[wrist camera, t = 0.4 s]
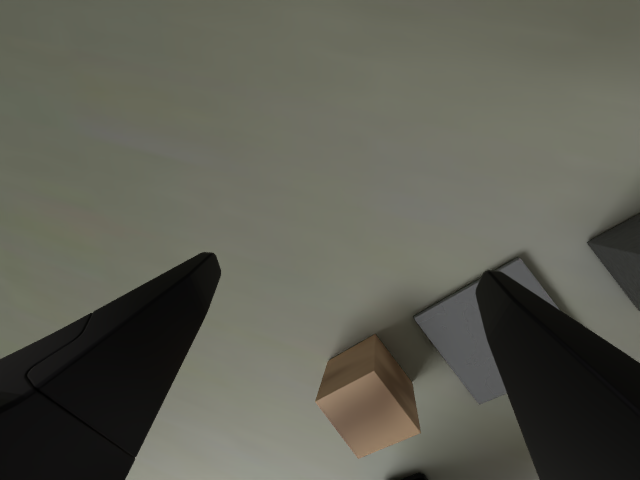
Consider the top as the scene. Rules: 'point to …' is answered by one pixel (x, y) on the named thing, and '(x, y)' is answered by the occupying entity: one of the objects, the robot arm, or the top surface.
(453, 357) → the plate
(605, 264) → the press block
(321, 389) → the light brown cube-like block
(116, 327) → the robot arm
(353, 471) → the top surface
